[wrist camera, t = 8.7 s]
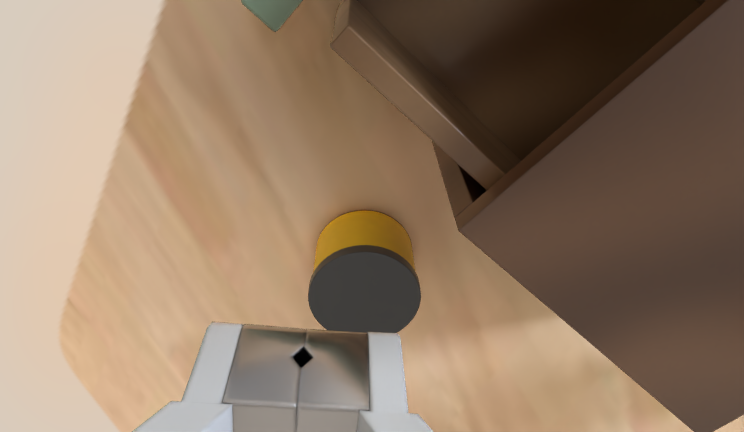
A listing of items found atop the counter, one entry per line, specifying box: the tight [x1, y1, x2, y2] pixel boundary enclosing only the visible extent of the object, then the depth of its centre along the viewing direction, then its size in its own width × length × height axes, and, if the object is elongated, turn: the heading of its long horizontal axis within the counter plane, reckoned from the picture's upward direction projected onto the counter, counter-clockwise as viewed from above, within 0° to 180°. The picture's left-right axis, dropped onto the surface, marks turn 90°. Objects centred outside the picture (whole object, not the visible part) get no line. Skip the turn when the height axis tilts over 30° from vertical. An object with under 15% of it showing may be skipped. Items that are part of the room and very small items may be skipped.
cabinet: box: [432, 0, 744, 432], centre depth 21 cm, size 15×13×9 cm
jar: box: [308, 211, 421, 333], centre depth 26 cm, size 5×5×4 cm
